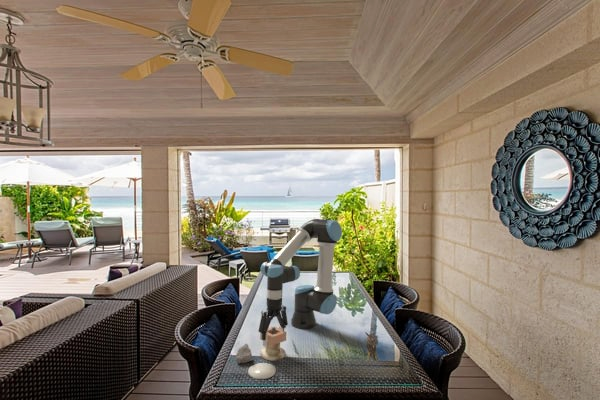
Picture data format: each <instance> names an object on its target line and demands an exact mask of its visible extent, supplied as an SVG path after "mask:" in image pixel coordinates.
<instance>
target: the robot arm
mask: <svg viewBox="0 0 600 400" xmlns="http://www.w3.org/2000/svg"><path fill="white" fill-rule="evenodd" d="M342 236H343V229H342V226H341V223H339V222H338V220H333V219H323V218H314V219H311V220H309V221H307V222H304V224H301V226H300V227H299V228H298V229H297V230H296V234H295V235H294V236H293V237H292V238H291V239H290V240H289V241H288V242H287V243H286V244H285V245H284V246H283V247H282V248H281V249H280V250H279V252H278V253H276V255H275V256H274V257H272V259H271V260H270V261H265V262H264V261H263V263H262V264H261V266H260V273H261V275H263V276H265V277H267V279H266V281H267V284H266V297H267V298H266V310H262V311H261V312H260V313H261V317H260V321H259V327H258V333H259V334H260V333H262V340H261V341H262V346H263V347H264V348H265V347H267V344H268V333H267V330H268V328H270V325H271V322H272V321H273V320H274V318H275V317H276V318H277V321H278V324H279V326H278V328H279V329H281V330H283V331H285V329H286V328H287V326H288V325H289V323H288V317H287V306H284V305H283V285H284V284H287V283H291V282H295V281H297V280H298V279H299V278H300V276H301V271H300V269H299V267H298V266H296V265H290V266H287V263H289V261H291V259H292V258H293V257H294V256H295V255H296V254H297V253H298V252H299V250H300V249H301V248H302V247H303V246H304V245H305V244H306V243H307V242H310V241H311V240H312V239H316V242H317V244H318V245H319V247H318V248H319V250H318V261H317V262H318V263H317V272H316V273H317V275H316V286H314V285H311V284H304V285H303V284H302V285H299V286H296V288H295V291H294V309H293V310H294V311H293V314H292V318H291V319H290V322H291V326H293V327H294V328H297V329H307V330H308V329H311V328H312V329H313V328H314V327H316V324H317V320H316V317H315V312H317V313H319V314H324V315H330V314H332V312H334V311H335V308H336V306H337V303H338V299H337V296H336V295H335V294H334V289H333V288H332V279H333V265H334V253H335V252H334V251H335V246H336V245H337V244H338V241H340V239H342ZM264 330H265V331H264Z"/></svg>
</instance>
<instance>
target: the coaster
mask: <svg viewBox="0 0 600 400" xmlns="http://www.w3.org/2000/svg"><path fill="white" fill-rule="evenodd" d="M247 371H248V372H247V374H248V375H249V376H250V377H251V378H252V379H256V380H266V379H269V378H270V379H271V377H274V376H275V374H276V367H275V366H274V365H273V364H270V363H266V362H259V363H255V364H253V365H252V364H251V366H250V367H249V368H248V370H247Z"/></svg>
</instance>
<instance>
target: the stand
mask: <svg viewBox="0 0 600 400" xmlns="http://www.w3.org/2000/svg"><path fill="white" fill-rule="evenodd" d="M271 327H272V335H273V334H275V327H276V326H271ZM259 355H260V357H261V358H262V359H263V360H266V361H272V362H273V361H274V362H275V361H279V360H282V359H284V357H285V356H286V350H285V349H284V348H282V347H281V342H280V343H278V344H275V345H272V346H271V345H269V344H267V347H265V346H264V348H262V349H261V350H260V354H259Z"/></svg>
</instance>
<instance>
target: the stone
mask: <svg viewBox="0 0 600 400" xmlns="http://www.w3.org/2000/svg"><path fill="white" fill-rule="evenodd" d="M252 355H253V354H252V350H251V348H249V344H248V343H245V344H243V345H242V346H241V347H239V348H238V350H237V352H236V356H235V359H234V360H235V361H236V363H237V364H247V363H248V362H252V361H253V360H254V358H253V356H252Z"/></svg>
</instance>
